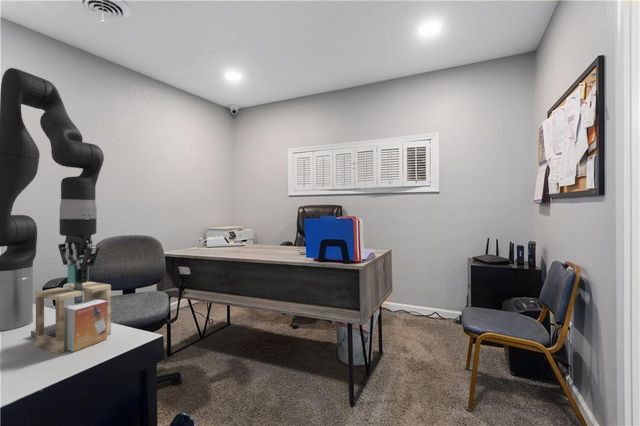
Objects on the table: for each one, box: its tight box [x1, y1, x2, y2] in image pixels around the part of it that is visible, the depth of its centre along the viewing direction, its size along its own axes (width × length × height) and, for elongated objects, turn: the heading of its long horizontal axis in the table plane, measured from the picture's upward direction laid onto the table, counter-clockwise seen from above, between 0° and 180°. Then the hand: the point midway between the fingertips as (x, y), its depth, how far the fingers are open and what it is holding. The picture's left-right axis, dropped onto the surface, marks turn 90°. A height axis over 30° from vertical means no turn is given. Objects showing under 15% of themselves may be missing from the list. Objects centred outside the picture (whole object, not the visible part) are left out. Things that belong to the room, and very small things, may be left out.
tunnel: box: [35, 280, 112, 355], centre depth 77 cm, size 10×12×14 cm
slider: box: [67, 264, 90, 304], centre depth 77 cm, size 2×9×20 cm, turn 159°
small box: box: [64, 298, 108, 352], centre depth 75 cm, size 8×6×10 cm
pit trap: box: [30, 323, 56, 339], centre depth 82 cm, size 7×10×2 cm
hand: (78, 281), depth 76 cm, fingers closed on slider, 2 cm apart
